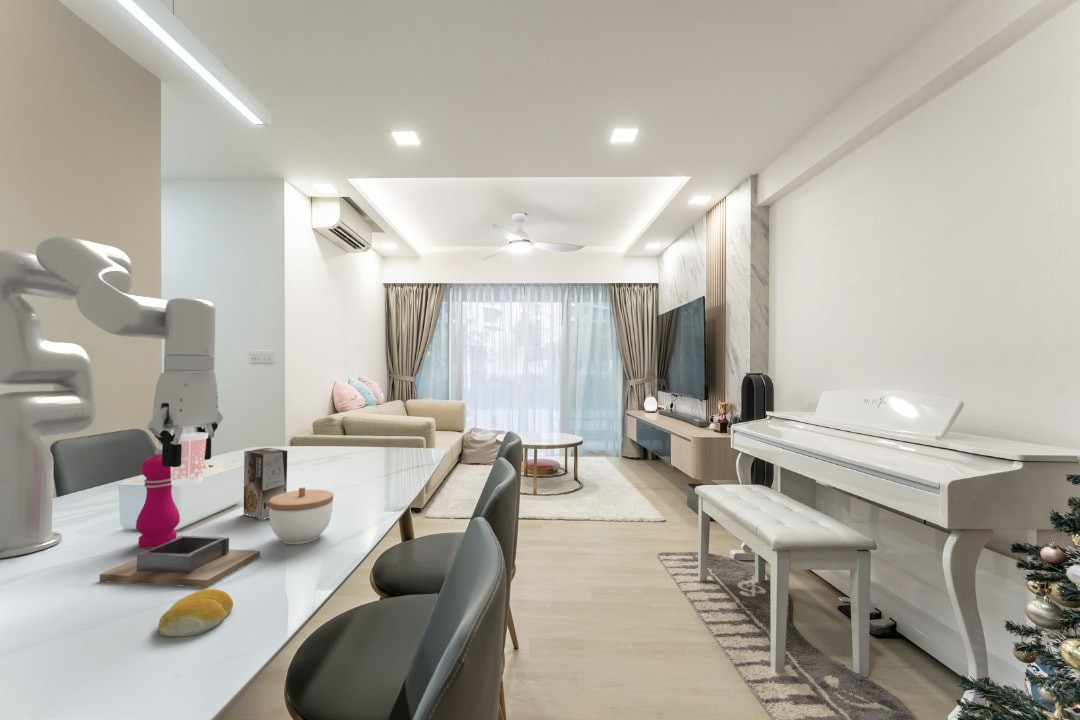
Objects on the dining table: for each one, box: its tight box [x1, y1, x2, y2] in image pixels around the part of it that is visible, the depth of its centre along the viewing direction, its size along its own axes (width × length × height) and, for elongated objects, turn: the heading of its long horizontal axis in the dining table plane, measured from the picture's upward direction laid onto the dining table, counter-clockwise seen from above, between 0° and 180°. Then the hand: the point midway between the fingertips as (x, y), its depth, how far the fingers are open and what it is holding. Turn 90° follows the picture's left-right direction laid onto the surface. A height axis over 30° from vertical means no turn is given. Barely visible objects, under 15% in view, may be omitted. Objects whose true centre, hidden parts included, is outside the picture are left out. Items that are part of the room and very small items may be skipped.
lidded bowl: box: [268, 486, 334, 546], centre depth 103 cm, size 13×13×11 cm
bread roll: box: [158, 588, 234, 638], centre depth 70 cm, size 8×9×4 cm
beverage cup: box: [170, 427, 208, 487], centre depth 88 cm, size 6×6×14 cm
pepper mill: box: [135, 447, 181, 549], centre depth 100 cm, size 7×7×20 cm
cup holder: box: [98, 535, 261, 588], centre depth 87 cm, size 20×13×4 cm, turn 85°
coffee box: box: [243, 447, 288, 520], centre depth 120 cm, size 9×6×16 cm
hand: (187, 461), depth 88 cm, fingers closed on beverage cup, 6 cm apart
